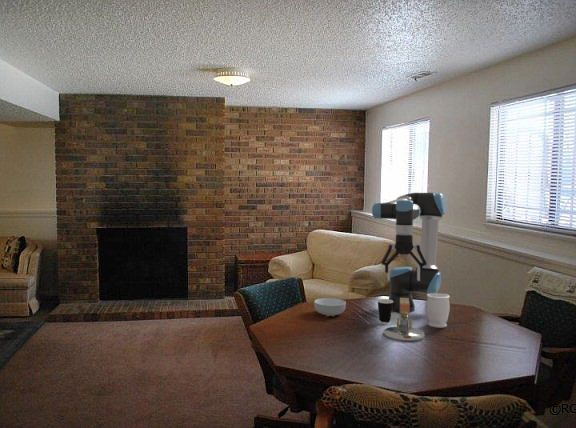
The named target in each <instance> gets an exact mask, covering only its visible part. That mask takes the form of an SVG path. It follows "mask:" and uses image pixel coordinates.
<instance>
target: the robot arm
mask: <svg viewBox="0 0 576 428" xmlns="http://www.w3.org/2000/svg"><path fill="white" fill-rule="evenodd" d="M446 211H447V206H446V199H445V196H444V194H443V193H439V192H409V193H406V194H403V195H399V196H398V197H397V198H396V199H394V200H389V201H387V202H377V203H373V205H372V208H371V215H372V217H373V218H374V219H379V220H381V219H383V220H395V244H391V243H390V244H388V247H387V250H386V252H385V254H384V255H383V258H382V260H381V262H380V263H381V265H383V266H384V272H385V273H386V275H387V276H386V277H387V278H386V279H387V281H389V297H388V299H389V300H392V301H393V305H392V312H394V313H401V311H400V298H409V304H410V312H409V313H411V312H415V308H416V307H415V302H414V299H413V295H412V292H413V293H420V294H426V295H427V294H430V293H439V290H440V287H441V284H442V273H441V272H440V271H439V268H438V266H437V253H438V239H439V238H438V235H439V221H440V220H442V218H443V216H444V215H445V214H446ZM417 218H419V219H421V232H420V234H421V235H420V245H419V244H415V245H414V244H413V243H414V242H413V240H414V238H413V231H414V230H413V229H414V227H413V225H414V224H413V223H414V220H416V219H417ZM394 249H395V251H394V252H393V254H392V255H391V256H390V254H391V251H392V250H394ZM413 249H414V250H416V252H417V254H418V255H419V258H418V257H417V256H416V255H415V253H414V252H413ZM398 255H406V256H408V255H410V257H412V259H413V260H414V261H415V262H416V263H417V264H418V265H416V267H415V269H413V267H412V266H399V267H398V266H397V267H394V268H392V269H391V265H390V264H391V263H392V261H393V260H394V259H396V258H397V256H398ZM389 256H390V257H389ZM387 259H388V260H387Z"/></svg>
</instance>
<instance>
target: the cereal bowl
mask: <svg viewBox="0 0 576 428" xmlns="http://www.w3.org/2000/svg"><path fill="white" fill-rule="evenodd" d="M313 305H314V309H315V311H316V312H317V313H318V314H321V315H322V314H323V315H326V316H325V317H329V316H332V317H336V316H335V315H337V316H338V315H340V314H342V313H343V312H344V311H345V310H346V305H347V302H346V301H345V300H343V299H340V298H330V297H329V298H327V297H325V298H324V297H323V298H317V299H315V300H314V302H313ZM323 315H322V316H323Z"/></svg>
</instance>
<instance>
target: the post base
mask: <svg viewBox="0 0 576 428" xmlns="http://www.w3.org/2000/svg"><path fill="white" fill-rule="evenodd" d="M399 318H400V320H399V329H397V326H390V327H386V328H384V329H383V337H385V338H387V339H389V340H391V341H395V342H404V343H405V342H406V343H414V342H421V341H423V340H424V339H425V332H424V331H423V330H421V329H419V328H415V327H412V329H409V316H408V317H401V316H400V317H399Z"/></svg>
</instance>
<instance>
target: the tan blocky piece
mask: <svg viewBox="0 0 576 428" xmlns="http://www.w3.org/2000/svg"><path fill="white" fill-rule="evenodd" d="M400 311H401V312H400V317H408V327H409V329H412V328H413V326H412V324H413V323H412V322H413V320H412V318H409V313H411V312H410V304H409V298H400ZM400 317H396V327H397V329H399V325H400Z"/></svg>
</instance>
